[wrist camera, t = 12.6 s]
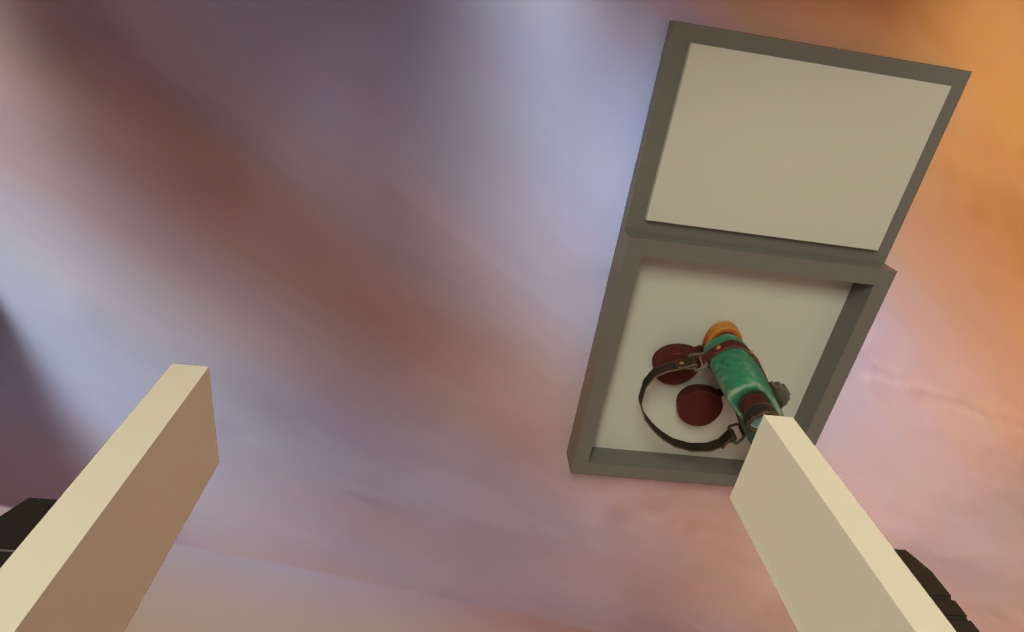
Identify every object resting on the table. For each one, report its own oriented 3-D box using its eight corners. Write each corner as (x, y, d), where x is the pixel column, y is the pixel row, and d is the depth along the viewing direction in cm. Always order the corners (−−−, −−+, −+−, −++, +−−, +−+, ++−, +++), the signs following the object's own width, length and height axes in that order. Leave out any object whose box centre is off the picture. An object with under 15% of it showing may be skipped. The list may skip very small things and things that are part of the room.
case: (669, 20, 36) (682, 21, 34) (960, 70, 38) (990, 73, 36) (566, 452, 51) (570, 473, 49) (780, 471, 53) (793, 491, 51)
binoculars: (636, 447, 38) (792, 384, 35) (618, 355, 47) (740, 299, 44) (692, 532, 42) (837, 482, 39) (665, 431, 51) (780, 384, 48)
